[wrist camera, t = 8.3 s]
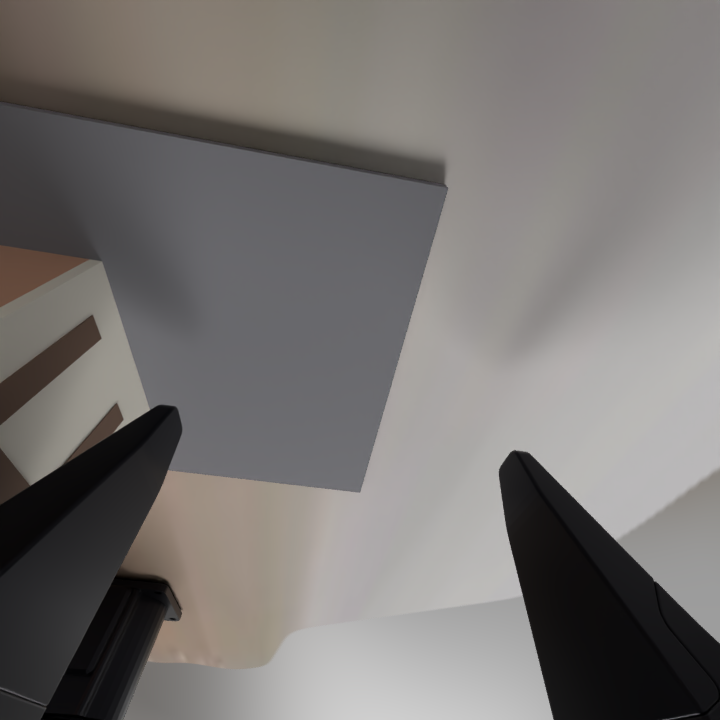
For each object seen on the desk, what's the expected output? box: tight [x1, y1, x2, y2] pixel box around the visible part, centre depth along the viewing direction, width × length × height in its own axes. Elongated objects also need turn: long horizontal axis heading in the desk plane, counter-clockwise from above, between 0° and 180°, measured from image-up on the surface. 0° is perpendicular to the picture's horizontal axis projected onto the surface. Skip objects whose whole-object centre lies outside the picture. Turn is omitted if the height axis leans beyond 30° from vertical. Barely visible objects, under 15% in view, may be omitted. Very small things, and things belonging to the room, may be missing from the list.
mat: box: [0, 101, 448, 493], centre depth 10 cm, size 12×22×1 cm, turn 81°
